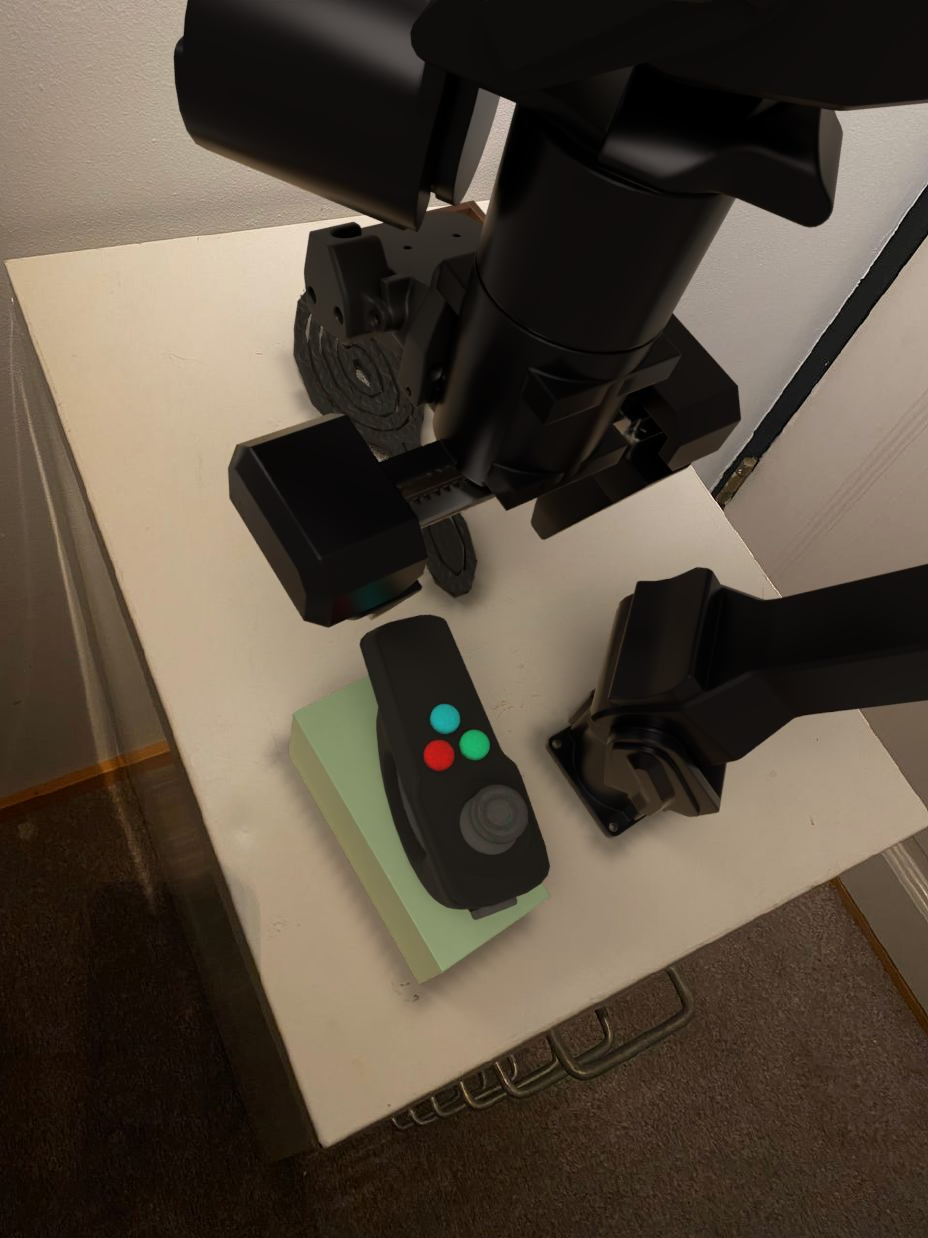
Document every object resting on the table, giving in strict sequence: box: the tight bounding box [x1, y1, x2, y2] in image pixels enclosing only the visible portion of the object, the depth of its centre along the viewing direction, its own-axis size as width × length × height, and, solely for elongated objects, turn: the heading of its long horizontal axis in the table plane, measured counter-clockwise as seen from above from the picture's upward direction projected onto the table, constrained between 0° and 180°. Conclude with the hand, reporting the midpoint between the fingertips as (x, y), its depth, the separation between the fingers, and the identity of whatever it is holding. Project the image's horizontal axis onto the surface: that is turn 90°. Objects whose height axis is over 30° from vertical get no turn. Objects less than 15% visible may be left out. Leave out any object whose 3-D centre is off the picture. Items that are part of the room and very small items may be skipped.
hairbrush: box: [292, 289, 478, 599], centre depth 54 cm, size 8×4×25 cm
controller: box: [359, 613, 551, 920], centre depth 34 cm, size 4×12×10 cm, turn 21°
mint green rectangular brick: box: [288, 675, 552, 985], centre depth 41 cm, size 13×6×6 cm, turn 33°
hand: (457, 568), depth 36 cm, fingers open, 9 cm apart
